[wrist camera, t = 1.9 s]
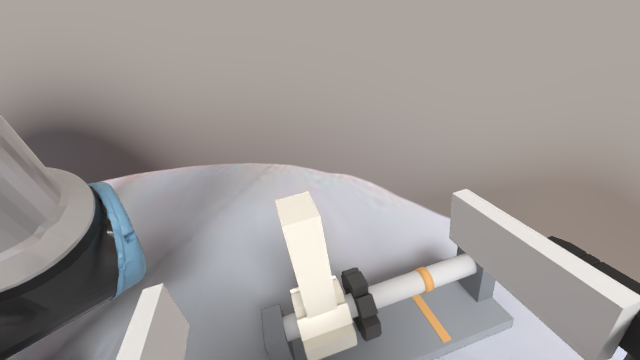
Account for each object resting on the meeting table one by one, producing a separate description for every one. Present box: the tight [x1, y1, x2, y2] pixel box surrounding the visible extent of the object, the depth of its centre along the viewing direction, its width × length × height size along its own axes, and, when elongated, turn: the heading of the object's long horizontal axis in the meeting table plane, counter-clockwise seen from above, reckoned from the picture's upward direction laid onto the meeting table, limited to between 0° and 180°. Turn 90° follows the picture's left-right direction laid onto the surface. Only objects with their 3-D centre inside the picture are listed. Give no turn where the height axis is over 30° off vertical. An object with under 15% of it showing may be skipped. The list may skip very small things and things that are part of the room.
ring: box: [341, 268, 382, 342], centre depth 30 cm, size 2×7×7 cm, turn 16°
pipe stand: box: [261, 246, 514, 360], centre depth 31 cm, size 26×10×8 cm, turn 106°
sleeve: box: [275, 192, 357, 360], centre depth 27 cm, size 5×7×18 cm
